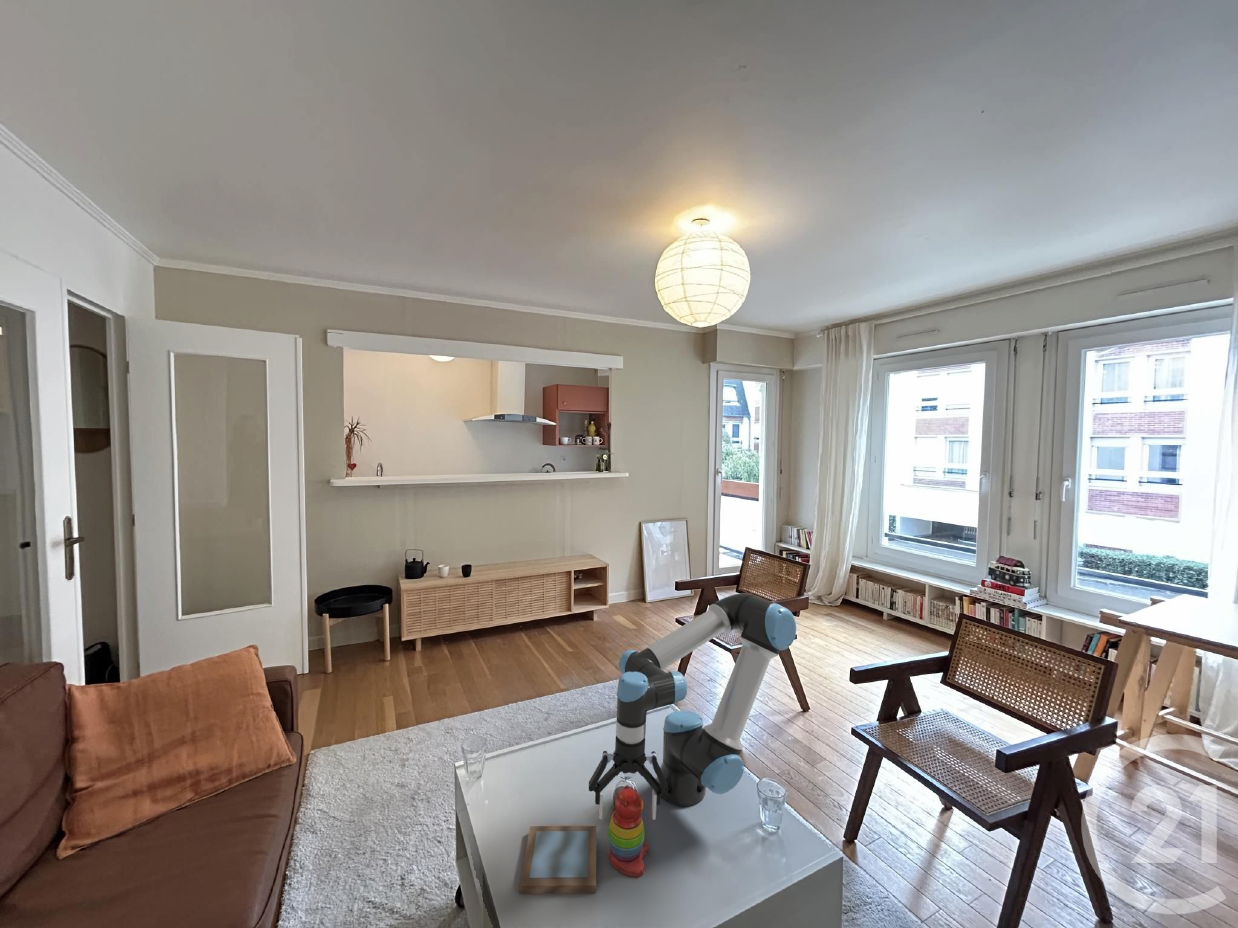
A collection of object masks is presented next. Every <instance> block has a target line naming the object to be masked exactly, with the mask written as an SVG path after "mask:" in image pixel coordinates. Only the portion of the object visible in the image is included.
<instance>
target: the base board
mask: <svg viewBox="0 0 1238 928" xmlns="http://www.w3.org/2000/svg"><path fill="white" fill-rule="evenodd" d="M525 847H526V848H525V854H524V859H523V866H522V870H521V871H522V872H521V876H520V882H519V883H520V884H519V894H520V895H524V894H525V895H527V894H528V895H533V894H539V895H541V894H543V895H544V894H596V893H597V825H536V826H535V825H531V826H529V830H528V837H527V842H526V846H525Z"/></svg>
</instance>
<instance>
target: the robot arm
mask: <svg viewBox="0 0 1238 928" xmlns="http://www.w3.org/2000/svg"><path fill="white" fill-rule="evenodd" d="M734 630H739V631H742V632H741V635H740V636H739V637H740V640H741V643H742V646H741V648H740V651H739V654H738V656H737V659H736V662H735V663H734V667H733V669H732V671H731V674H730V676H729V678H728V681H727V683H726V686H725V689H724V691H723V694H722V696H721V698H720V701H719V703H718V706H717V709H716V711H715V714H714V716H713V719H712V721H711V723H708V724H706V725H704V721H703V717H702V716H701V715H700V714H699V713H697V712H695V711H691V710H676V711H673V712H670V713H669V714H667V716H665V717H664V718H665V719H664V723H663V727H662V731H663V739H662V740H663V743H662V747H663V748H662V762H661V764H659V762H658V759H657V754H656V751H654V750H653V751H651V752H650V753H645V750H646V732H647V729H646V728H647V712H649V711H653V710H655V709H659V708H661V707H665V706H666V707H667V706H670V705H675V704H676V703H678V702H681V701H683V700H685V698H686V697H687V695H688V684H687V681H686V678H685V676H684V674H682V673H681V672H679V671H678V670H673V671H671V670H670V671H668V672H665V671H664V670H665V669H667V668H668V667H670V666H672V665H673V664H675V663H676V662H677V661H680V660H681V659H682V658H684V657H686V656H687V655H689V654H691V653H692V652H693V651H695V650H696V649H699V648H700V647H701V646H703V645H704V644H706V643H707V642H709V641H711V640H712V639H714V638H716V637H717V636H719V635H720V634H722V633H723V634H729V633H730V632H732V631H734ZM796 634H797V623H796V620H795V617H794V614H793V613H792V612H791V610H790V609H788V608H786V607H785V606H782V605H780V604H779V603H776V602H774V601H771V600H768V599H765V598H763V597H761V596H758V595H755V594H753V593H749V592H748V593H747V592H741V593H735V594H732V595H728V596H726V597H723V598H721V599H719V600H717V601H715V602H714V603H711V604H710V605H709V607H708V609H707V611H705V612H703V613H702V614H700V615H699V616H697V617H695V618H694V619H692V620H690V621H688V622H687V623H685V624H684V625H682V626H681V627H678V628H677V629H675V630H673V631H672V632H670V633H669V634H667V635H665V636H664V637H662V638H661V639H660V638H659V640H657V641H655V642H654V643H653V644H651V645H648V646H647V647H646V648H644V649H642V650H640V651H637V650H635V649H628V650H626V651H624V652H623V654H621V656H620V658H619V660H618V670H619V672H620V673H621V675H620V676H619V678H618V682H617V690H616V696H617V698H616V720H615V721H616V722H615V725H616V726H615V744H614V745H615V747H614V749H615V750H614V752H613V753H608V751H607V750H604V751H602V757H601V759H600V762H599V763H598V765H597V767H596V768H595V770H594V772H593V774H592V775H591V778H590V779H589V781H588V791H589V792H594V793H595V796H594V800H595V801H594V803H595V805H599V806H598V807H599V809H598V820H603V807H604V804H603V801H604V789H605V788H606V787H607V786H608V785H609V784H610V783H611V782H612V781H613V780H614V778H615V777H617V776H618V775H620V773H621V772H622V773H623V774H629V773H630V774H636V773H637V772H638V773H639V775H640V776H641V777H643V779H645V781H646V782H647V783H648V785H649V786H650V787H651V789H652V793H651V797H652V798H651V818H652V820H656V818H657V817H656V816H657V806H660V805H661V799H663V800H665V801H666V802H668V803H670V804H672V805H674V806H675V805H676V806H682V807H683V806H685V807H687V806H688V807H689V806H693V805H696V804H698V803H700V802H701V801H702V800H703V799H704V798H705V795H706V793H707V791H706V788H707V789H708V790H709V791H710V792H712V793H713V794H717V795H722V794H727V793H728V792H730V791H731V790H733V789H734V788H736V786H737V785H738V784H739V782H740V781H741V779H742V778H743V774H744V770H745V767H744V761H743V759H742V758H741V756H740V755H741V753H742V750H743V746H742V745H743V744H742V742H741V737H742V734H743V732H744V729H745V727H746V724H747V722H748V719H749V716H750V714H751V710H752V708H753V706H754V703H755V700H756V698H757V696H758V693H759V691H760V688H761V686H762V682H763V680H764V678H765V675H766V672H767V669H768V667H769V664H770V662H771V660H772V659H773V658H776V657H778V656H779V655H780V652H781V651H784V650H787V649H789V647H790V646H791V645H792V644H793V642H794V641H795V638H796ZM703 726H704V727H703ZM611 761H612V762H614V763H613V764H612V766H611V767H610V769H608V771H606V772H605V770H606V768H607V765H609V764H610V763H611ZM647 761H648V762H649V764H650V765H652V768H653V771H654V772H655V775H656V778H655V777H654V776H653V774H652V772H650V770H649V769H648V768H647V767H646V766H645V763H646V762H647ZM604 772H605V774H604ZM603 774H604V775H603ZM602 775H603V776H602Z"/></svg>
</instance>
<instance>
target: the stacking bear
mask: <svg viewBox="0 0 1238 928" xmlns="http://www.w3.org/2000/svg"><path fill="white" fill-rule="evenodd" d="M629 785H630V784H626V785H625V786H624V788H623V789H622V790H620V791H618V792H617V793H616V796H615V798H614V807H615V810H614V811H613V812H612V815H611V817H610V819H609V824H608V831H607V832H608V833H607V838H608V843H609V844H608V845H609V850H608V855H607V857H608V861H609V863H610V865H611V866H612V867H613V868H614V869H615V870H617V871H618V872H620V873H622V874H624V875H627V876H629V877H635V878H639V877H641V876H643V875H644V873H645V871H646V868H645V863H644V861H643V859H644V856H645V855H647V854H648V852H649V843H648V842H647V841H646V840H645V826H644V825H645V824H644V821H643V817H642V812H643V810H644V807H645V804H644V803H645V802H644V801H643V799H642V797H641V796H640V795H639V793H638V792H637V791H636V790H634V789H633V788H630V786H629Z"/></svg>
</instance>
